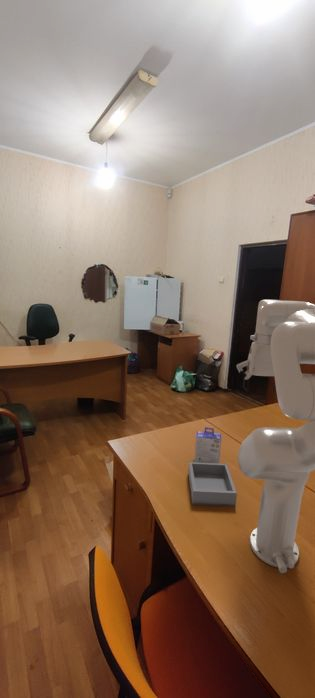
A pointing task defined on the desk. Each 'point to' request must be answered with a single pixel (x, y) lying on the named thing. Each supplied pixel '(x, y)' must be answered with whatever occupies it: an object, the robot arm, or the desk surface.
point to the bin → (211, 484)
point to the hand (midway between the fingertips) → (261, 390)
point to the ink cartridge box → (207, 446)
